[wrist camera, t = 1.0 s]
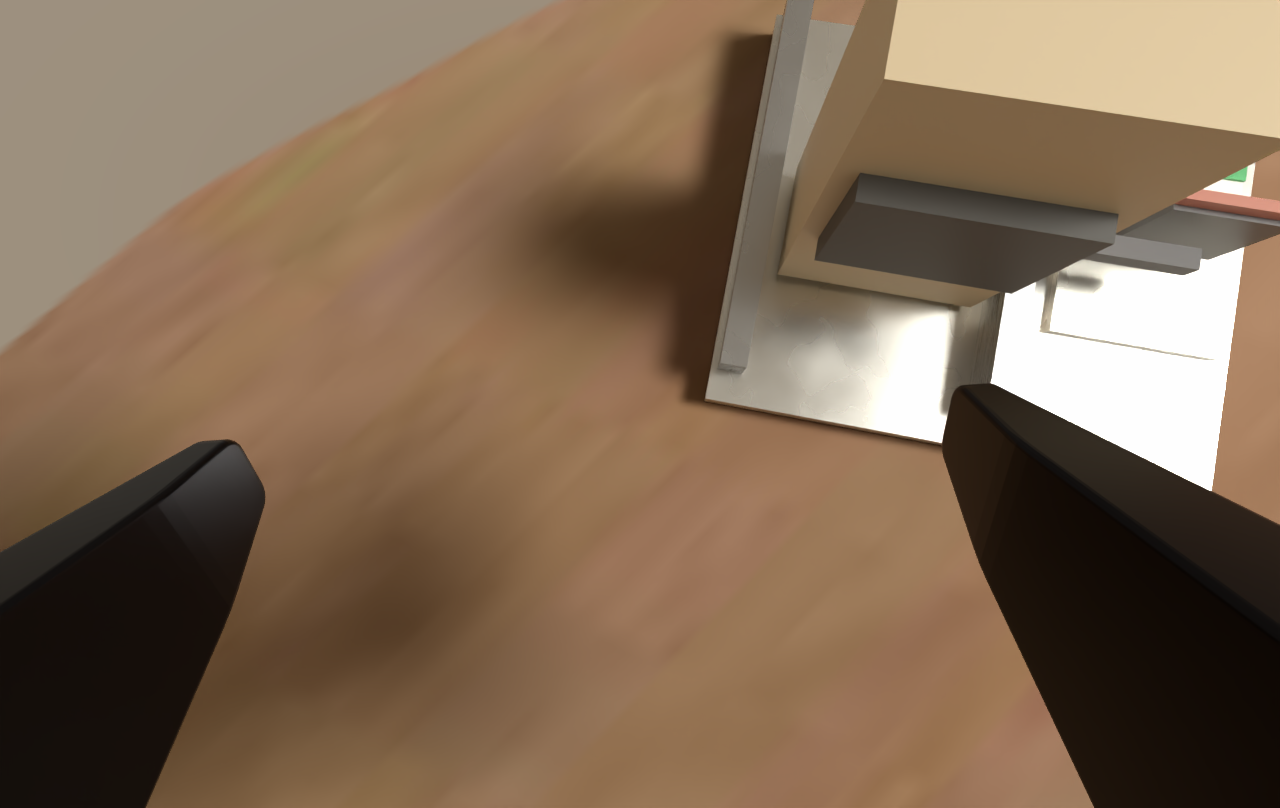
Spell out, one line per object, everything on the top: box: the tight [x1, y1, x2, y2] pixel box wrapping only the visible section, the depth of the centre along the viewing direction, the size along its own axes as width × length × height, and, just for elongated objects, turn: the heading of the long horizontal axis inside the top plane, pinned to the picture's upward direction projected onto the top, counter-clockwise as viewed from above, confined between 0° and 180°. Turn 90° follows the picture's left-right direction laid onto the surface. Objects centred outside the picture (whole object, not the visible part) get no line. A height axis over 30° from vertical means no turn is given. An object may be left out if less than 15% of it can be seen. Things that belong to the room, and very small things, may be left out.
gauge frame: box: [704, 0, 1255, 491], centre depth 21 cm, size 13×16×2 cm
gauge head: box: [778, 0, 1280, 307], centre depth 15 cm, size 4×11×11 cm, turn 79°
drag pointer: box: [1116, 189, 1280, 260], centre depth 19 cm, size 1×3×3 cm, turn 79°
